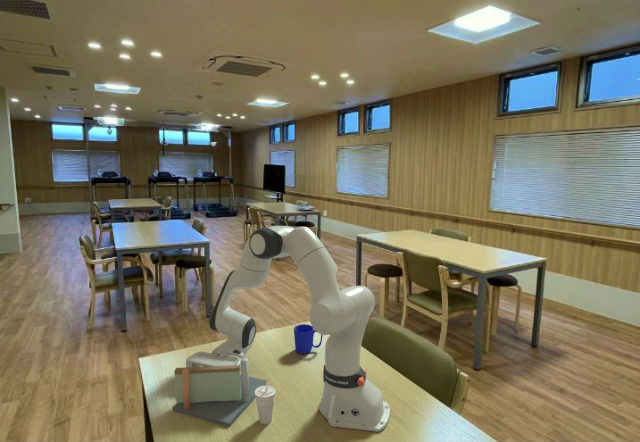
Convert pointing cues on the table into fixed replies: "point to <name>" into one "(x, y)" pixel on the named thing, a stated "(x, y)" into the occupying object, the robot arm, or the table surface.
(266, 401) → the smoothie
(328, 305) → the robot arm
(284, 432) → the table surface
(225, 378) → the panel
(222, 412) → the board
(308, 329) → the mug
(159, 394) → the table surface
